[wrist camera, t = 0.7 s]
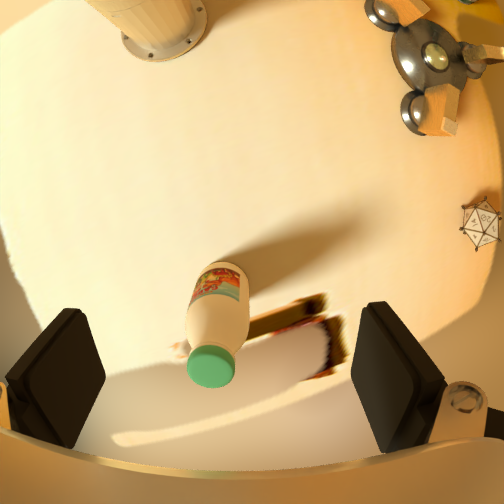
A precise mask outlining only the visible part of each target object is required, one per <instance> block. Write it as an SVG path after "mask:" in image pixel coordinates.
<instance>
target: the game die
mask: <svg viewBox="0 0 504 504" xmlns="http://www.w3.org/2000/svg"><path fill="white" fill-rule="evenodd" d="M486 199H487V197H486V196H485V197H484V201H481V202H479V203H477V204H474V205H472V206H469V207H467V208H465V207H464V206H462V209H464V221H463V227H460V229H459V230H460V231H461V230H464V231H465V232H464V233H463V234H467V235H468V236H469V238H470V239H471V240H472V242H473V243H474V245H475V246H476V248H475V251H476V252H477V251H478V247H480V246H483V245H485V244H488V243H491V242H493V241H496V240H498V241H499V242H501V240H500V239H499V220H501V219H502V218H501V217H499V216H498V215H500V214H501V212H498V213H497V212H496V211H495V210H494V209H493V208H492V207H491V206H490V204H489V203H488V202H487V201H486Z"/></svg>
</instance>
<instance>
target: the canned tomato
mask: <svg viewBox="0 0 504 504" xmlns="http://www.w3.org/2000/svg"><path fill="white" fill-rule="evenodd" d="M458 1H460V2H462V3H464V4H472V3H473V2H476V1H477V0H458Z"/></svg>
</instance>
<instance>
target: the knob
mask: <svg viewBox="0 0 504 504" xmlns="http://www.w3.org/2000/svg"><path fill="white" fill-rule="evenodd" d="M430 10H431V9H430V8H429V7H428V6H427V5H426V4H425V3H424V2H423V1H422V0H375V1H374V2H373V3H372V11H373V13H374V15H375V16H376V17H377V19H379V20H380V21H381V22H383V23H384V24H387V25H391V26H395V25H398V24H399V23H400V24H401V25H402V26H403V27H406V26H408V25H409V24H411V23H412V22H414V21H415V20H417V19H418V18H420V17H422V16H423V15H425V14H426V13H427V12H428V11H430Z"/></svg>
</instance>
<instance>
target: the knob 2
mask: <svg viewBox="0 0 504 504" xmlns="http://www.w3.org/2000/svg"><path fill="white" fill-rule="evenodd" d="M461 52H462V55H463V57H464V60H465V63H466V67H467V70H468V71H470V72H471V73H480V72H484V71H485V69H486V65H491V64H496V63H501V62H504V47H498V46H491V45H480V46H475V45H473V44H470V45H467V46H464V47H462V48H461Z"/></svg>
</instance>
